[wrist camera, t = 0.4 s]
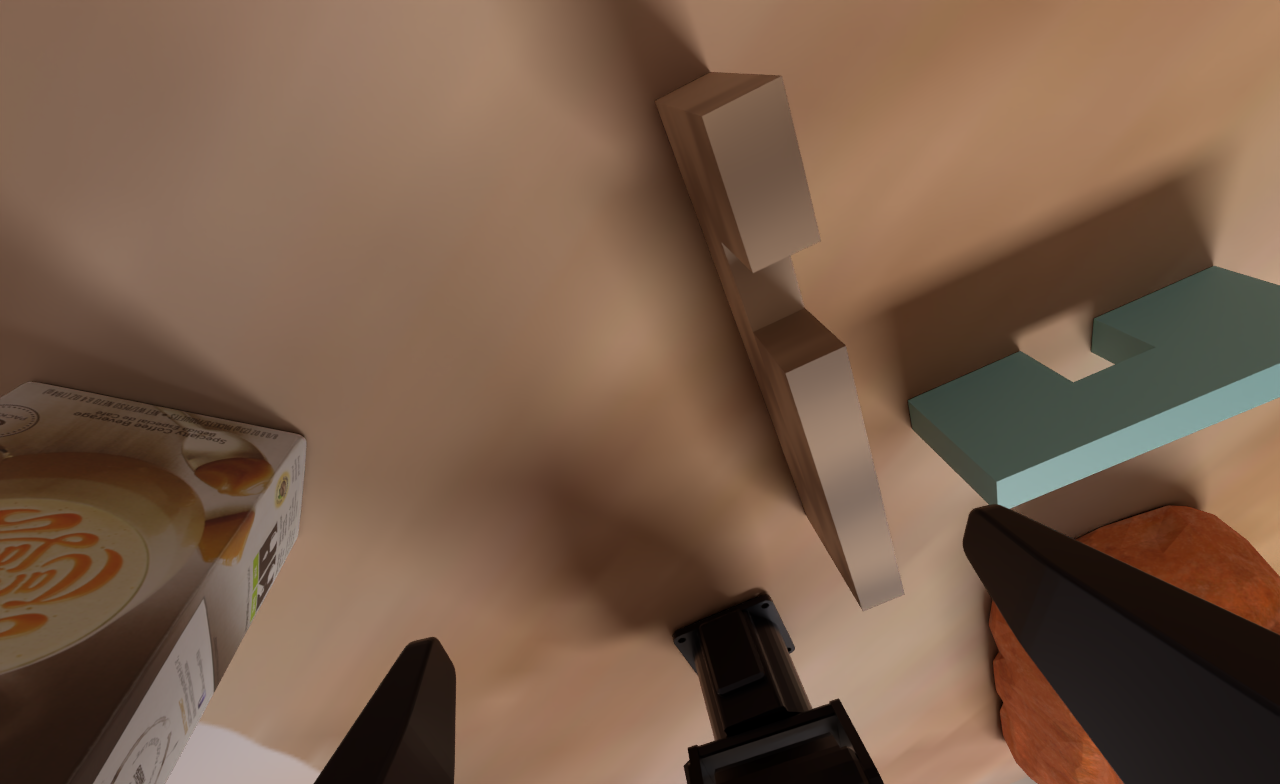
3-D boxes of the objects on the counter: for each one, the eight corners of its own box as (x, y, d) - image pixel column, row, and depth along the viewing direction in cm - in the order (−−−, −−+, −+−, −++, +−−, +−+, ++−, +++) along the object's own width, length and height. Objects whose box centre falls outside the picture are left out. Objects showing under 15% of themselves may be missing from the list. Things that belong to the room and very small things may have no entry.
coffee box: (311, 428, 22) (-70, 1038, 8) (299, 538, 24) (3, 1126, 11) (20, 374, 19) (-1340, 1186, 5) (44, 505, 21) (-792, 1254, 8)
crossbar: (1214, 265, 25) (1388, 318, 20) (1206, 301, 26) (1369, 360, 21) (907, 400, 26) (996, 481, 21) (912, 429, 27) (998, 513, 22)
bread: (997, 750, 52) (1120, 934, 41) (976, 573, 35) (1175, 804, 24) (1155, 691, 51) (1326, 865, 40) (1212, 476, 34) (1537, 676, 23)
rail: (841, 502, 29) (904, 594, 24) (807, 516, 29) (862, 611, 24) (710, 72, 17) (781, 75, 12) (654, 101, 17) (702, 116, 12)
